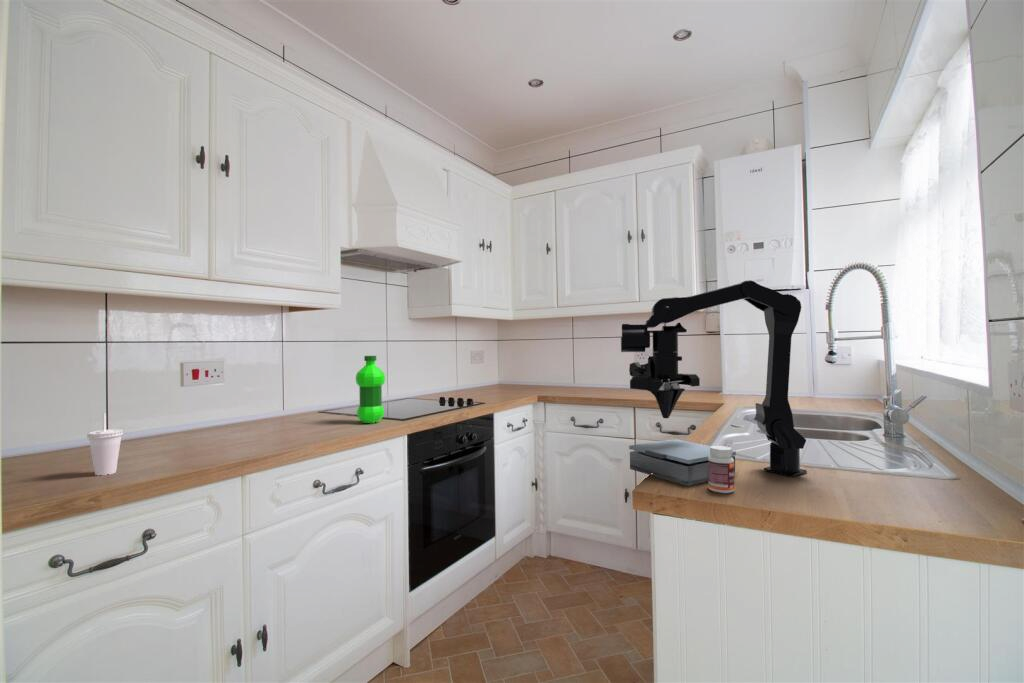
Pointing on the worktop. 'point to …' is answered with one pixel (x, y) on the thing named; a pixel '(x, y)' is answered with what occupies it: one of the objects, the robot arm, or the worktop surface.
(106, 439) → the smoothie
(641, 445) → the lid
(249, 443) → the worktop surface
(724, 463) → the pill bottle
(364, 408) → the plastic bottle
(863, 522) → the worktop surface
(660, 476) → the grey lidded case
